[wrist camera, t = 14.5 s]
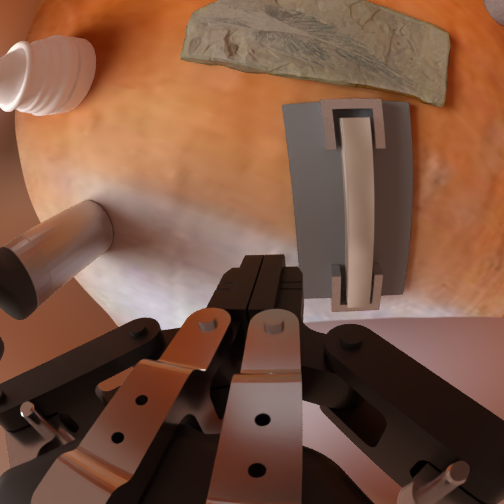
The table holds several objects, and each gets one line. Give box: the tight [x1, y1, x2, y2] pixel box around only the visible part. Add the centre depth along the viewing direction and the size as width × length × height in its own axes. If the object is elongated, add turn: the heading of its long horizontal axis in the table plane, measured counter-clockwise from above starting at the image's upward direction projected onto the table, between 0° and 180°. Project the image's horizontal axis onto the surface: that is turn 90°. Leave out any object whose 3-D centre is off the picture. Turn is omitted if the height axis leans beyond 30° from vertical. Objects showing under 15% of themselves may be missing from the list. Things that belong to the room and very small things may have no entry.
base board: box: [282, 101, 413, 299], centre depth 31 cm, size 14×24×2 cm, turn 8°
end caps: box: [320, 99, 386, 312], centre depth 29 cm, size 6×24×3 cm, turn 8°
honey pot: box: [0, 35, 96, 116], centre depth 22 cm, size 13×13×18 cm
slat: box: [338, 117, 374, 308], centre depth 28 cm, size 2×20×5 cm, turn 8°
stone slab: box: [181, 0, 450, 107], centre depth 22 cm, size 12×4×30 cm
